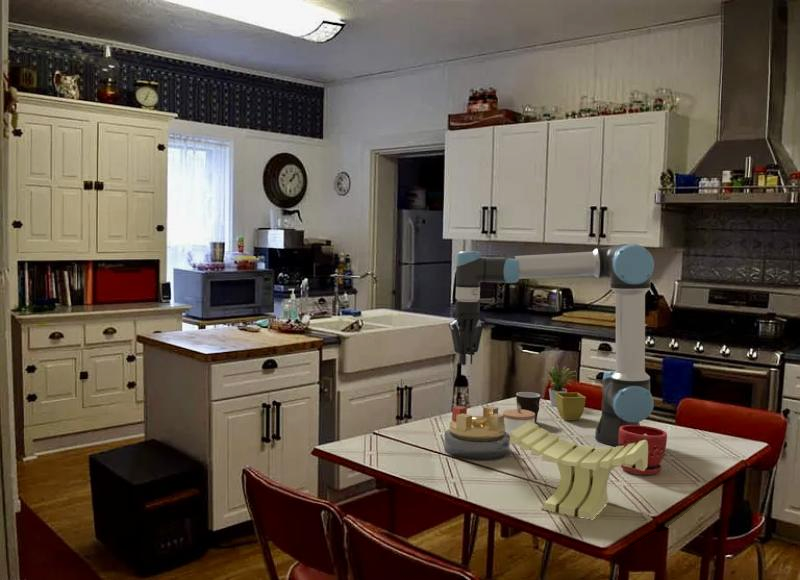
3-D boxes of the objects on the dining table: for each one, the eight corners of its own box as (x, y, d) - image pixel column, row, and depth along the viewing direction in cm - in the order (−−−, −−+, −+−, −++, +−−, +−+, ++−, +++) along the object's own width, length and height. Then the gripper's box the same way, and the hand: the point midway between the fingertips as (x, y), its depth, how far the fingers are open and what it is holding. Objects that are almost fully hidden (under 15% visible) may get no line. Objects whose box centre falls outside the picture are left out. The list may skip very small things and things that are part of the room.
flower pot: (554, 416, 272) (555, 392, 271) (576, 415, 273) (577, 392, 272) (561, 422, 263) (562, 397, 263) (585, 422, 264) (586, 397, 264)
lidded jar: (536, 440, 239) (537, 412, 238) (504, 439, 239) (505, 411, 238) (531, 431, 249) (532, 404, 249) (500, 430, 250) (501, 403, 249)
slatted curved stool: (645, 507, 182) (648, 436, 180) (630, 528, 168) (633, 452, 166) (530, 484, 197) (532, 419, 195) (507, 502, 183) (510, 432, 182)
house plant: (569, 411, 279) (571, 369, 278) (534, 406, 286) (536, 365, 285) (580, 404, 291) (582, 364, 290) (546, 400, 298) (548, 360, 297)
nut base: (522, 451, 227) (522, 434, 226) (483, 465, 212) (483, 447, 212) (471, 437, 240) (471, 422, 240) (431, 449, 226) (431, 433, 225)
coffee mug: (514, 418, 267) (515, 391, 266) (538, 419, 266) (539, 392, 265) (515, 426, 255) (516, 398, 255) (540, 428, 254) (541, 399, 254)
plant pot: (660, 480, 202) (662, 438, 201) (612, 472, 208) (614, 431, 207) (668, 468, 213) (670, 427, 212) (622, 460, 219) (624, 421, 218)
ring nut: (471, 423, 238) (471, 402, 237) (515, 433, 226) (516, 411, 226) (438, 433, 225) (439, 411, 224) (483, 444, 214) (484, 421, 213)
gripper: (458, 302, 222) (456, 378, 224) (491, 300, 229) (489, 375, 231) (443, 300, 229) (441, 374, 230) (476, 298, 236) (474, 371, 237)
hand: (465, 374), depth 231 cm, fingers closed
